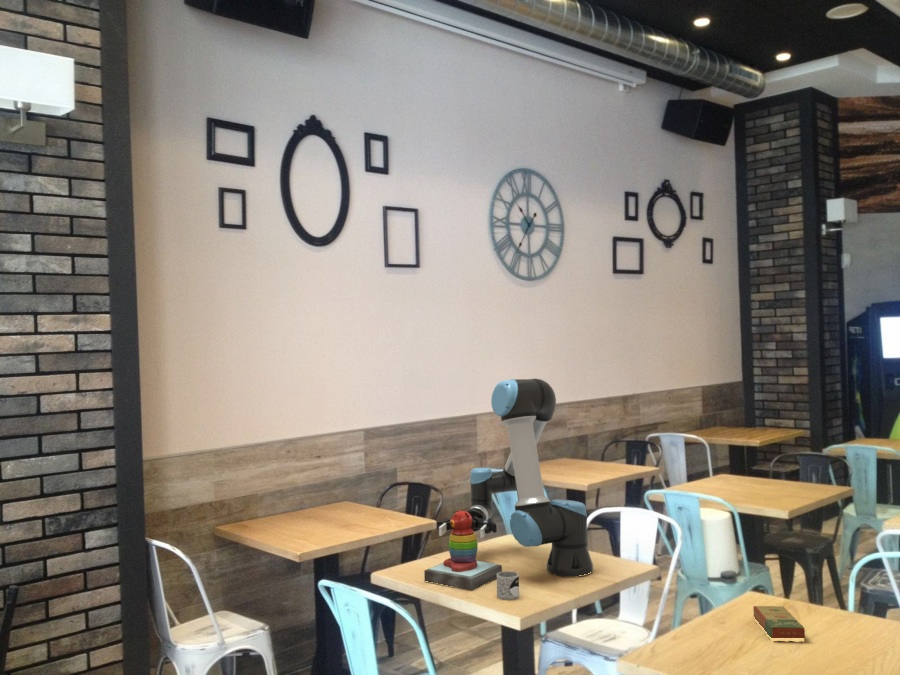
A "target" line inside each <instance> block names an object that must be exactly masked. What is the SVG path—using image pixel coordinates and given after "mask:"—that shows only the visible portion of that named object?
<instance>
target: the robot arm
mask: <svg viewBox="0 0 900 675" xmlns="http://www.w3.org/2000/svg"><path fill="white" fill-rule="evenodd" d="M490 404H491V408H492V411H493V412H494V414H495V415H496V416H498V417H500V420H501V424H503V425H504V426H505V427H506V428H507V436H508V442H509V447H510V453H509V455H508V458H507V461H506V462H505V465H504V467H503V470H502V471H501V470H500V471H492V469H491V468H489V467H475V468H472V469H471V470H470V475H469V476H470V478H469V479H470V480H469V481H470V508H469V509H468V510H466V512H468V513H469V514H470V515H471V517H472V525H471V529H472V530H473V531H474V532H478V531H479V537H480V539H483V538H484V537H485V536H486V535H487V534H490V533H491V532H492V533H495V534H496V533H498V532H497V529H498V528H497V527H498V526H497V523H495V522H494V521H493V520H492V518H493V515H494V513H495V506H494V504H493V502H492V501H493V500H492V499H493V494H499V493H508V492H516V493H517V501H516V502H515V504H514V511H513V512H512V513H511V515H510V518H509V528H510V532H511V534H512V535H513V538H514V539H515V541H517V542H518V544H519V545H521V546H522V547H528V548H529V547H539V546H542V545H547V544H548V545H549V544H551V549H550V553H549V555H548V559H547V563H546V571H547V572H548V573H549V574H551V575H554V576H559V577H564V576H579V575H584V574H588V573H590V572H592V571H593V572H594V565H593V560H592V558H591V555H590V551H589V549H588V522H587V521H588V515H587V514H588V513H587V506H586V505H585V503H583V502H580V501H578V500H577V501H576V500H569V499H552V500H550V499H549V498H548V497H546V496H545V490H544V485H543V478H542V472H541V466H540V459H539V456H538V453H539V452H538V447H537V444H538V442H540V441H539V440H540V438H541V436H542V434H543V431H544V429H545V426H546V424H547V423H548V422H550V421H551V420H552V419H553V417H554V414H555V411H556V406H557V399H556V394H555V391H554V389H553V388H552V386H551V384H550V383H548V382H547V381H545V380H543V379H540V378H528V379H527V378H524V379H523V378H522V379H519V378H517V379H507V380H501V381H500V382H498V383H497V384H496V385H495V387H494V389H493V391H492V393H491V403H490ZM451 518H452V517H451ZM451 518H447V519H443V520H440V521H439V520H438V521H436V531H438V537H441V536H442V537H443V535H444V534H446V533H447V531H448V530H453V529H454V528H453V527H452V526H451V524H450V520H451ZM593 572H592V573H593ZM579 577H580V576H579Z"/></svg>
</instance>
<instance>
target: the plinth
mask: <svg viewBox="0 0 900 675" xmlns="http://www.w3.org/2000/svg"><path fill="white" fill-rule="evenodd" d="M476 562H477V567H476V568H474V569H471V570H468V571H462V572H454V571H452V568H451V567H447V566H444V565H443V563H444V562H442V563H439V564H437V565H434V566H432V567H429V568H427V569H424V571H423V572H424V573H423V574H424V576H423V577H424V582H425V581H428V582H427V583H429V582H433V583H432V584H434V583H438V584H437V585H439V584H443V585H442V586H444V585H448V586H447V587H449V586H453V587H452V588H454V587H457V588H456V589H460V588H461V589H460V590H465V589H466V590H465V591H470V590H471V592H472V591H474V590H476V589H479V588H481V587H482V585H483V586H485V585H487V584H489V583H491V582H493V581H496V580H497V573H499V572H502V571H503V567H502V564H498V563H493V562H487V561H482V560H481V561H480V560H476ZM488 582H489V583H488ZM484 584H485V585H484ZM480 586H481V587H480ZM478 587H479V588H478Z"/></svg>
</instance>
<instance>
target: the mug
mask: <svg viewBox="0 0 900 675" xmlns="http://www.w3.org/2000/svg"><path fill="white" fill-rule="evenodd" d="M496 597H497V599H499V600H504V601H513V600H516V599H519V598H520V573H518V572H517V571H511V570H502V572H499V573H497V579H496Z"/></svg>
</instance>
